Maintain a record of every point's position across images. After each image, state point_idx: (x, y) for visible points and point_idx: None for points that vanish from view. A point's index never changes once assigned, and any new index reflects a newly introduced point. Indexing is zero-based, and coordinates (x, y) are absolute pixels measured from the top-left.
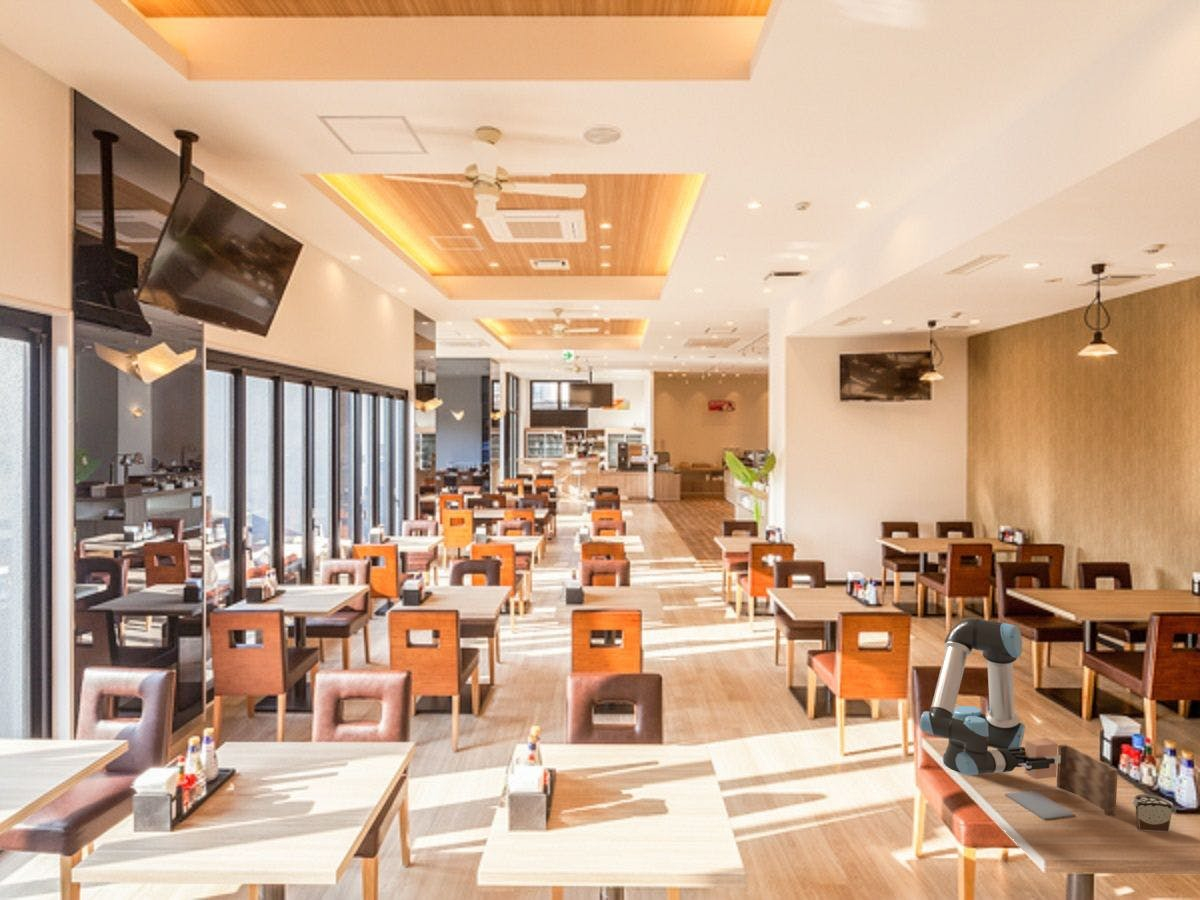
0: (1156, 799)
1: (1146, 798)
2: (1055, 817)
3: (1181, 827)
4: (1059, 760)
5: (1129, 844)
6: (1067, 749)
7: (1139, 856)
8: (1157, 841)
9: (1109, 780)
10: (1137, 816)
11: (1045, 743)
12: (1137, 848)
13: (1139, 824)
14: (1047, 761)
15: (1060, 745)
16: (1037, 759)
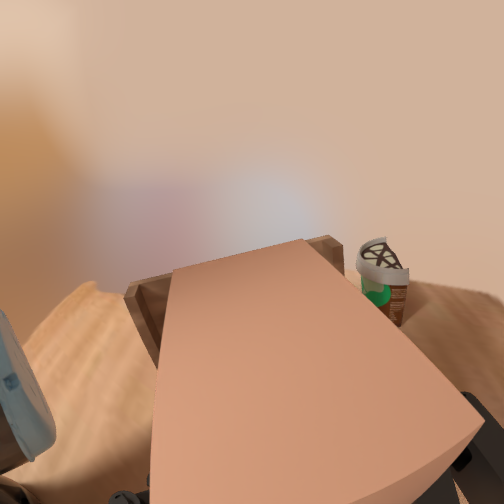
0: (365, 251)
1: (368, 260)
2: None
3: (357, 277)
4: None
5: (480, 352)
6: (146, 292)
7: None
8: (436, 312)
9: (343, 275)
10: (400, 304)
11: (321, 299)
12: (488, 343)
13: (401, 315)
14: (483, 407)
15: (128, 294)
16: (454, 490)
